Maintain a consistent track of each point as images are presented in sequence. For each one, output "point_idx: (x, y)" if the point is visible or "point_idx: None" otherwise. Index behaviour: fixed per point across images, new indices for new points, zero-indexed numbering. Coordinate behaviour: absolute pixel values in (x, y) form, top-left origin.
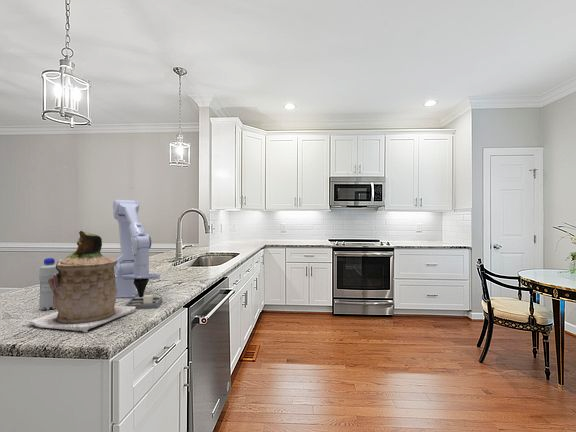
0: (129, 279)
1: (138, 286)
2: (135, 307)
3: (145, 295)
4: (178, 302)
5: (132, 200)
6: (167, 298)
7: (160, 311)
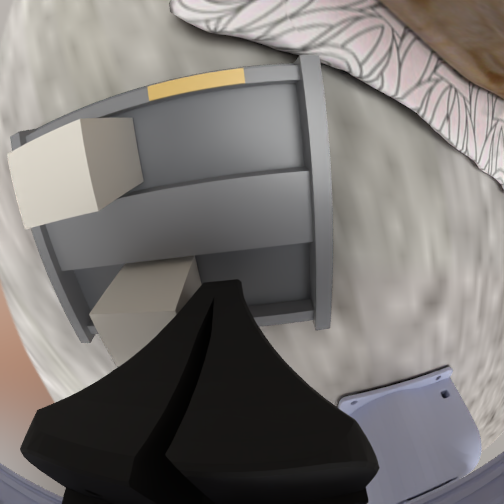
0: (458, 486)
1: (225, 376)
2: (171, 4)
3: (82, 189)
4: (3, 280)
5: None
6: (108, 370)
7: (8, 69)
